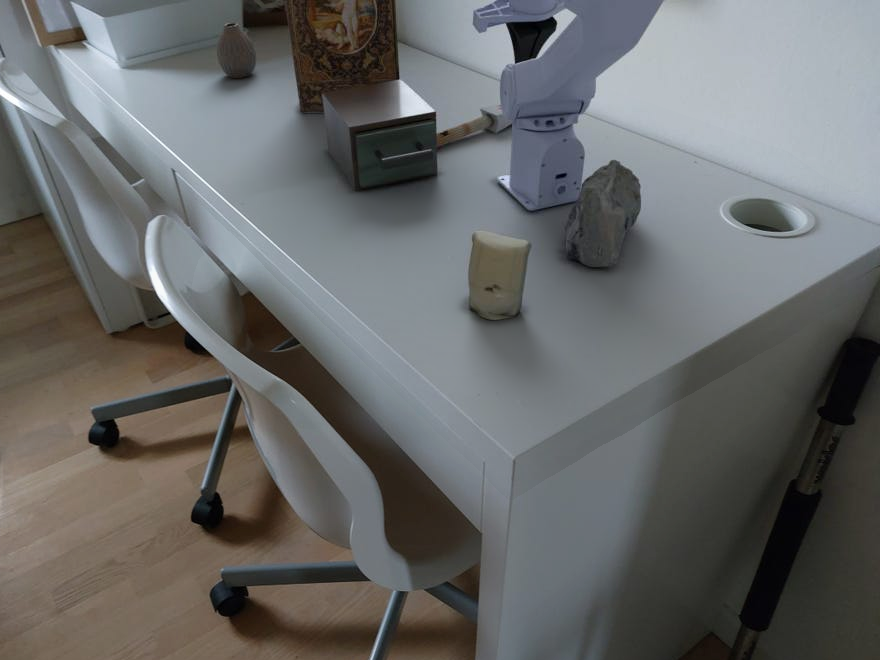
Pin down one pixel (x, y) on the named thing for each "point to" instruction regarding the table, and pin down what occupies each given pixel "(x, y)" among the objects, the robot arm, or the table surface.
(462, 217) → the table surface
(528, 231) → the table surface
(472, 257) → the cream tall block
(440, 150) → the table surface
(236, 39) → the vase
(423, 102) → the cabinet
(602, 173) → the mineral rock
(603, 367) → the table surface
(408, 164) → the drawer
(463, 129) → the paintbrush
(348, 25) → the book
